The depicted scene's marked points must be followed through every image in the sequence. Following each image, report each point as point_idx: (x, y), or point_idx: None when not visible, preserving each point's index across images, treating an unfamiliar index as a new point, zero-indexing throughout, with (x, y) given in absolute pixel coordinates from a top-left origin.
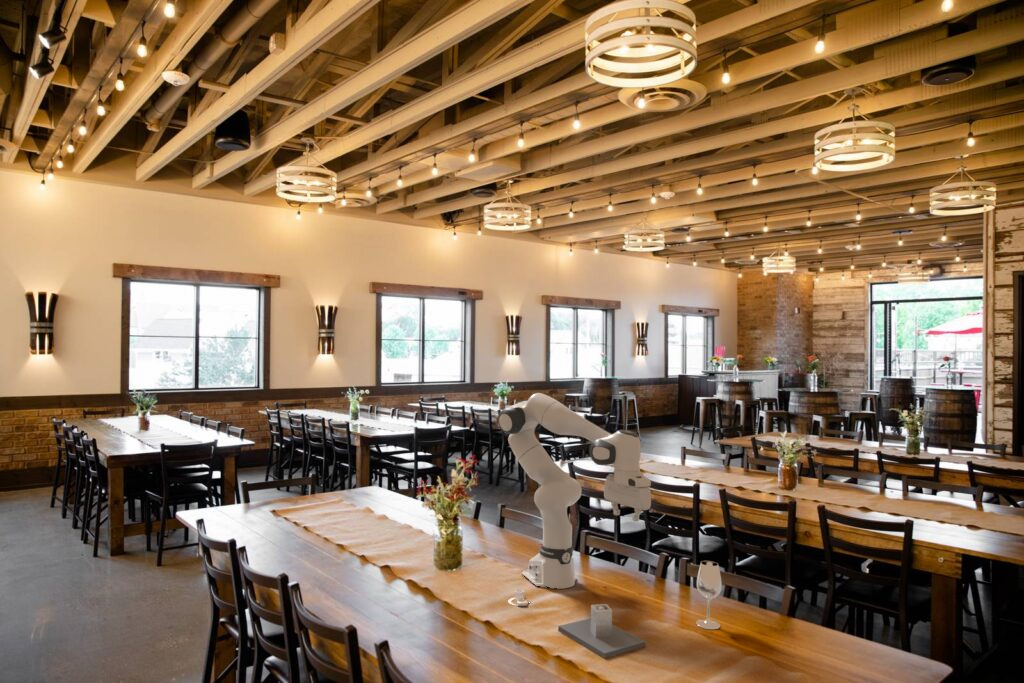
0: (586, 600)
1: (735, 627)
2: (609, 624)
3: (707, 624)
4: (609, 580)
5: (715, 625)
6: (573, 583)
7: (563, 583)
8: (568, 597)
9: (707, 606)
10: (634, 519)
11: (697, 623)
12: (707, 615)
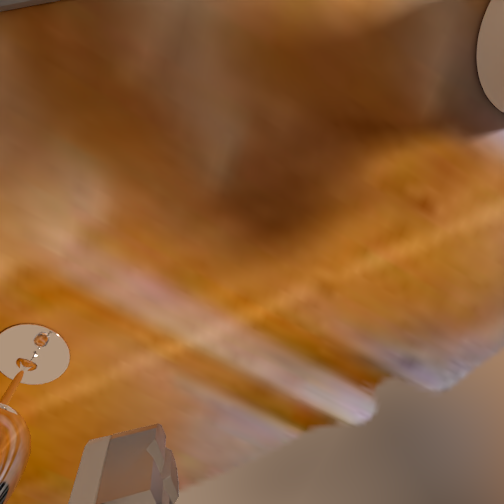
0: (342, 64)
1: None
2: None
3: (15, 349)
4: (465, 249)
5: (10, 368)
6: (492, 93)
7: (496, 31)
8: (397, 4)
9: (9, 390)
10: (94, 453)
11: (37, 328)
12: (19, 370)
